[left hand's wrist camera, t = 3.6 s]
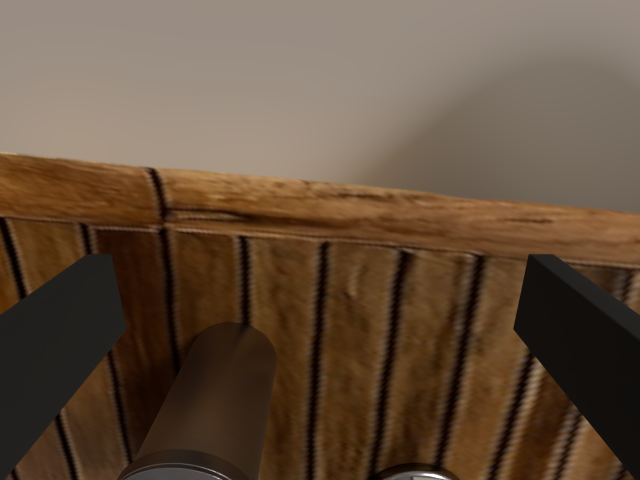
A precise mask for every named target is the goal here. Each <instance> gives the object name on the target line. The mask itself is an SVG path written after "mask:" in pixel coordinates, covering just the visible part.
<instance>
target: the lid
mask: <svg viewBox="0 0 640 480" xmlns="http://www.w3.org/2000/svg"><path fill="white" fill-rule="evenodd" d="M117 480H250V479H249V478H248V477H247V476H246V475H245V474H244V473H243V472H242V471H241V470H240V469H238V468H237V467H236V466H234V465H233V464H231V463H229V462H228V461H226V460H224V459H221V458H219V457H217V456H214V455H211V454H208V453H204V452H200V451H194V450H184V449H173V450H163V451H158V452H154V453H150V454H147V455H145V456H143V457H140V458H139V459H137V460H135V461H133V462H132V463H131V464H129V465H128V466H127V467H126V468H125V469H124V470H123V471H122V472H121V474H120V476H119V477H118V479H117Z"/></svg>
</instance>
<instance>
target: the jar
mask: <svg viewBox="0 0 640 480" xmlns="http://www.w3.org/2000/svg"><path fill="white" fill-rule="evenodd" d="M275 369H276V353H275V350H274V348H273V346H272V344H271V342H270V341H269V340H268V339H267V337H266V336H265V335H263V334H262V333H261V332H260V331H258V330H256V329H255V328H253V327H250V326H248V325H244V324H240V323H221V324H217V325H213V326H211V327H209V328H207V329H206V330H204V331H203V332H202V333H200V334H199V336H198V337H197V338H196V339H195V341H194V343H193V345H192V347H191V349H190V351H189V353H188V355H187V357H186V359H185V361H184V363H183V365H182V367H181V369H180V371H179V373H178V375H177V377H176V379H175V381H174V383H173V385H172V387H171V389H170V391H169V393H168V395H167V397H166V399H165V401H164V403H163V405H162V407H161V409H160V411H159V413H158V415H157V417H156V419H155V421H154V423H153V425H152V427H151V429H150V430H149V432H148V434H147V436H146V438H145V440H144V442H143V444H142V446H141V448H140V450H139V452H138V454H137V456H136V458H135V460H137V459H139V458H140V457H143V456H145V455H147V454H150V453H154V452H158V451H163V450H173V449H184V450H194V451H200V452H204V453H208V454H211V455H214V456H217V457H219V458H221V459H224V460H226V461H228V462H229V463H231V464H233V465H234V466H236V467H237V468H238V469H240V470H241V471H242V472H243V473H244V474H245V475H246V476H247V477H248V478H249V479H250V480H258V475H259V469H260V463H261V457H262V450H263V444H264V438H265V432H266V425H267V419H268V413H269V407H270V400H271V394H272V388H273V382H274V375H275ZM135 460H134V461H135Z"/></svg>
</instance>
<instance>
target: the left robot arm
mask: <svg viewBox="0 0 640 480" xmlns="http://www.w3.org/2000/svg"><path fill="white" fill-rule="evenodd" d="M126 329H127V328H126V323H125V319H124V314H123V309H122V304H121V299H120V295H119V290H118V285H117V280H116V275H115V271H114V266H113V261H112V256H111V254H87V255H85V256H84V257H82V258H81V259H79V260H78V261H77V262H75V263H74V264H72V265H71V266H69V267H68V268H67V269H65V270H64V271H62V272H61V273H60V274H58V275H57V276H55V277H54V278H52V279H51V280H50V281H48V282H47V283H45V284H44V285H42V286H41V287H40V288H38V289H37V290H35V291H34V292H32V293H31V294H30V295H28V296H27V297H25V298H24V299H22V300H21V301H20V302H18V303H17V304H15V305H14V306H12V307H11V308H10V309H8V310H7V311H5V312H4V313H2V314H1V315H0V480H5V479H6V477H7V476H8V475H9V474H10V472H11V471H12V470H13V469H14V467H15V466H16V465H17V464H18V463H19V461H20V460H21V459H22V458H23V456H24V455H25V454H26V453H27V451H28V450H29V449H30V448H31V447H32V445H33V444H34V443H35V442H36V440H37V439H38V438H39V437H40V435H41V434H42V433H43V432H44V431H45V429H46V428H47V427H48V426H49V424H50V423H51V422H52V421H53V419H54V418H55V417H56V416H57V414H58V413H59V412H60V411H61V410H62V408H63V407H64V406H65V405H66V403H67V402H68V401H69V400H70V398H71V397H72V396H73V395H74V394H75V392H76V391H77V390H78V389H79V387H80V386H81V385H82V384H83V382H84V381H85V380H86V379H87V377H88V376H89V375H90V374H91V373H92V371H93V370H94V369H95V368H96V366H97V365H98V364H99V363H100V361H101V360H102V359H103V358H104V357H105V355H106V354H107V353H108V352H109V350H110V349H111V348H112V347H113V345H114V344H115V343H116V342H117V341H118V339H119V338H120V337H121V336H122V334H123V333H124V332H125V331H126ZM513 329H514V331H515V332H516V333H517V334H518V336H519V337H520V338H521V339H522V341H523V342H524V343H525V344H526V345H527V347H528V348H529V349H530V350H531V352H532V353H533V354H534V355H535V357H536V358H537V359H538V360H539V361H540V363H541V364H542V365H543V366H544V368H545V369H546V370H547V371H548V373H549V374H550V375H551V376H552V377H553V379H554V380H555V381H556V382H557V384H558V385H559V386H560V387H561V389H562V390H563V391H564V392H565V394H566V395H567V396H568V397H569V398H570V400H571V401H572V402H573V403H574V405H575V406H576V407H577V408H578V410H579V411H580V412H581V413H582V414H583V416H584V417H585V418H586V419H587V421H588V422H589V423H590V424H591V426H592V427H593V428H594V429H595V431H596V432H597V433H598V434H599V435H600V437H601V438H602V439H603V440H604V442H605V443H606V444H607V445H608V447H609V448H610V449H611V450H612V451H613V453H614V454H615V455H616V456H617V458H618V459H619V460H620V461H621V463H622V464H623V465H624V466H625V468H626V469H627V470H628V471H629V472H630V474H631V475H632V476H633V477H634V479H635V480H640V315H639V314H638V313H636V312H635V311H633V310H632V309H630V308H629V307H628V306H626V305H625V304H623V303H622V302H620V301H619V300H618V299H616V298H615V297H613V296H612V295H610V294H609V293H608V292H606V291H605V290H603V289H602V288H600V287H599V286H598V285H596V284H595V283H593V282H592V281H590V280H589V279H588V278H586V277H585V276H583V275H582V274H580V273H579V272H578V271H576V270H575V269H573V268H572V267H571V266H569V265H568V264H566V263H565V262H563V261H562V260H561V259H559V258H558V257H556V256H555V255H553V254H529V256H528V261H527V266H526V271H525V275H524V280H523V285H522V290H521V295H520V299H519V304H518V309H517V314H516V319H515V323H514V328H513ZM372 480H459V479H458V478H457V477H456V476H455V475H454V474H452V473H451V472H449V471H448V470H445V469H443V468H441V467H438V466H434V465H429V464H406V465H400V466H396V467H393V468H390V469H388V470H386V471H384V472H382V473H380V474H378V475H377V476H376V477H374V478H373V479H372Z"/></svg>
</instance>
